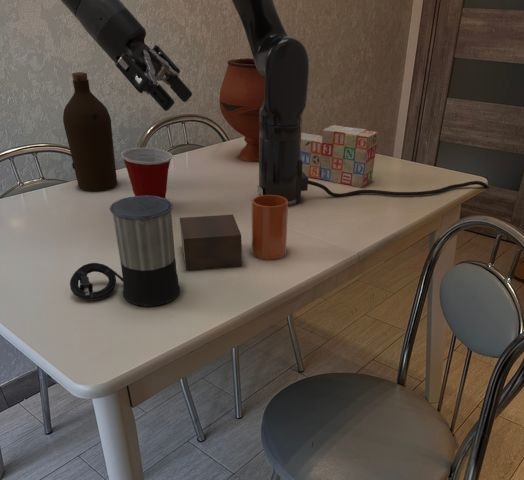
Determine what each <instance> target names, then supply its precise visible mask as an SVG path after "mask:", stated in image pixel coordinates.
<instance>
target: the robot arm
mask: <svg viewBox="0 0 524 480" xmlns="http://www.w3.org/2000/svg"><path fill="white" fill-rule="evenodd" d="M60 1H61V2H62V4H63V5H64V6H65V8H67V9H68V10H69V12H70V13H72V15H73V16H74V17H75V18H76V20H78V22H79V23H80V25H81V26H82V28H83V29H84V30H85V31H86V33H87V34H88V36H90V37H91V38H92V40H94V41H95V43H97V45H98V46H99V47H100V48H101V49H102V50H103V51H104V53H105V54H106V55H107V56H108V57H109V58H110V59H111V61H112V62H113V63H115V64H114V65H115V67H116V68H117V69H118V70H119V71H120V72H121V74H122V75H123V76H124V77H125V78H126V80H127V81H128V82H129V83H130V84H131V85H132V86H133V87H134V89H135V90H136V91H137V92H138V93H140V94H143V93H145V94H146V95H147V96H148V95H150V97H152V98H153V99H154V100H155V102H156V103H157V104H158V105H159V106H160V107H161V109H163V111H165V112H167V111H170V109H171V108H172V107H173V106H174V105H175V100H174V99H173V98H172V96H170V94H169V93H168V92H167V91H166V90H165V89H164V87H163V86H162V85H161V84H159V82H163V83H164V84H166V85H168V86H169V88H170V89H171V90H172V91H173V93H174V94H175V95H176V96H177V97H178V98H179V99H180V100H181V101H182V103H187V102H188V100H190V98H191V97H192V96H193V92H192V90H191V89H190V88H189V87H188V86H187V85H186V84H185V83H184V82H183V80H182V79H181V78H180V72H181V70H180V68H179V67H178V66H177V64H175V63H174V61H172V59H170V58H169V56H168V55H167V54H166V53H165V52H164V51H163V50H162V48H160V46H159V45H157V44H155V45H154V46H153V47H152V48H151V47H149V45H147V44H146V43H145V38H146V36H147V30H146V29H145V27H144V26H143V25H142V24H141V22H139V21H138V19H137V18H136V17H135V16H134V14H133V13H131V11H130V10H129V9H128V8H127V6H126V5H125V4H124V3H123V2H122V1H121V0H60ZM231 2H232V4H233V6H234V9H235V10H236V13H237V14H238V16H239V19H240V21H241V24H242V26H243V30H244V32H245V36H246V39H247V42H248V45H249V49H250V52H251V55H252V59H254V62H255V65H256V68H257V71H258V73H259V74H260V76H261V77H262V78H263V79H264V80H265V95H264V103H263V105H262V106H261V108H260V111H259V161H258V184H257V185H256V186H257V187H256V189H257V190H256V191H257V193H258V195H257V196H261V195H278V196H282V197H284V198H286V199H287V200H288V207H289V206H293V205H295V204H301V201H302V192H308V190H309V189H308V187H309V185H310V186H315V187H317V188H319V189H322V190H323V191H325V193H326V194H328V195H329V196H331V197H334V198H344V197H350V196H355V195H360V194H376V195H383V196H384V195H386V196H399V197H401V196H402V197H404V196H406V197H407V196H408V197H409V196H411V197H412V196H413V197H414V196H427V195H435V194H439V193H443V192H446V191H448V190H453V189H458V188H463V187H467V186H473V185H479V186H482V187H483V188H484V189H486V190H487V189H488V190H489V189H490V187H489V185H488V184H487V183H486V182H483V181H481V180H472V181H467V182H463V183H462V182H461V183H456V184H450V185H447V186H444V187H441V188H438V189H432V190H424V191H423V190H422V191H421V190H420V191H391V190H390V191H389V190H380V189H358V190H351V191H348V192H343V193H337V192H333V191H332V190H330V189H329V188H328V187H327V186H326V185H324V184H322V183H319V182H316V181H312V180H309V177H308V176H306V175H305V174H304V172H302V164H303V162H302V160H301V159H300V151H301V133H302V130H303V129H302V128H303V127H302V126H303V114H304V112H305V109H306V105H307V100H308V99H307V98H308V89H309V88H308V86H309V74H310V60H309V54H308V51H307V49H306V46H305V45H304V44H303V42H301V41H300V40H298V39H297V38H294V37H291V36H289V35H288V33H287V31H286V30H285V27H284V26H283V25H284V24H283V23H282V20H281V18H280V16H279V13H278V11H277V8H276V6H275V2H274V0H231Z"/></svg>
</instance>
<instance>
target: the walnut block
mask: <svg viewBox="0 0 524 480" xmlns="http://www.w3.org/2000/svg"><path fill="white" fill-rule="evenodd" d="M179 228H180V239H181V240H180V241H181V249H182V255H183V261H184V266H185V267H184V268H185V271H197V270H208V269H210V270H211V269H222V268H223V269H224V268H235V267H236V268H237V267H242V266H243V261H242V258H243V256H242V252H243V251H242V250H243V249H242V248H243V247H242V234H241V230H240V228H239V226H238V223H237V220H236V219H235V215H234V214H233V213H232V214H220V215H219V214H217V215H216V214H215V215H202V216H185V217H179Z"/></svg>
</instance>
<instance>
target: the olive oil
mask: <svg viewBox="0 0 524 480" xmlns="http://www.w3.org/2000/svg"><path fill="white" fill-rule="evenodd" d="M71 75H72V85H73V89H74V93H73V94H72V96H71V97H70V99H69V100H68V101H67V103H66V105H65V107H64V108H63V112H62V114H63V115H62V121H63V122H62V123H63V127H64V131H65V135H66V139H67V143H68V147H69V151H70V156H71V160H72V163H71V167H72V169H73V170H74V172H75V173H74V174H75V177H76V182H77V186H78V188H79V190H82V191H84V192H85V191H86V192H104V191H109V190H112V189H115V188H116V187H117V185H118V177H117V169H116V161H115V150H114V141H113V138H114V137H113V127H112V118H111V115H110V112H109V111H108V109H107V107H106V106H105V104H104V103H103V102H101V101H100V99H98V98H97V97H96V95H94V94H93V93H92V91H91V89H90V88H91V87H90V81H89V79H88V73H87V72H83V71H81V72H80V71H79V72H78V71H77V72H72V73H71Z"/></svg>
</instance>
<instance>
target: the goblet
mask: <svg viewBox="0 0 524 480" xmlns="http://www.w3.org/2000/svg"><path fill="white" fill-rule="evenodd" d="M264 95H265V80H264V79H263V78H262V77H261V76H260V74H259V73H258V71H257V68H256V65H255V62H254V59H253V58H249V57H248V58H247V57H246V58H236V59H230V60H227V67H226V70H225V74H224V76H223V79H222V83H221V85H220V90H219V97H218V98H219V100H218V101H219V102H218V103H219V109H220V113H221V115H222V117H223V118H224V120H225V121H226V123H227V124H228V125H229V126H230V127H231V128H232V129H233V130H234V131H236V132H237V133H238V134H240V135H242V136H243V137H244V138H243V140H244V142H245V143H246V144H245V146H244V147H243V148H242V149H241V150H240V152H239V154H238V158H239V159H240V160H243V161H245V162H259V111H260V108H261V106H262V105H263V103H264Z"/></svg>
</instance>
